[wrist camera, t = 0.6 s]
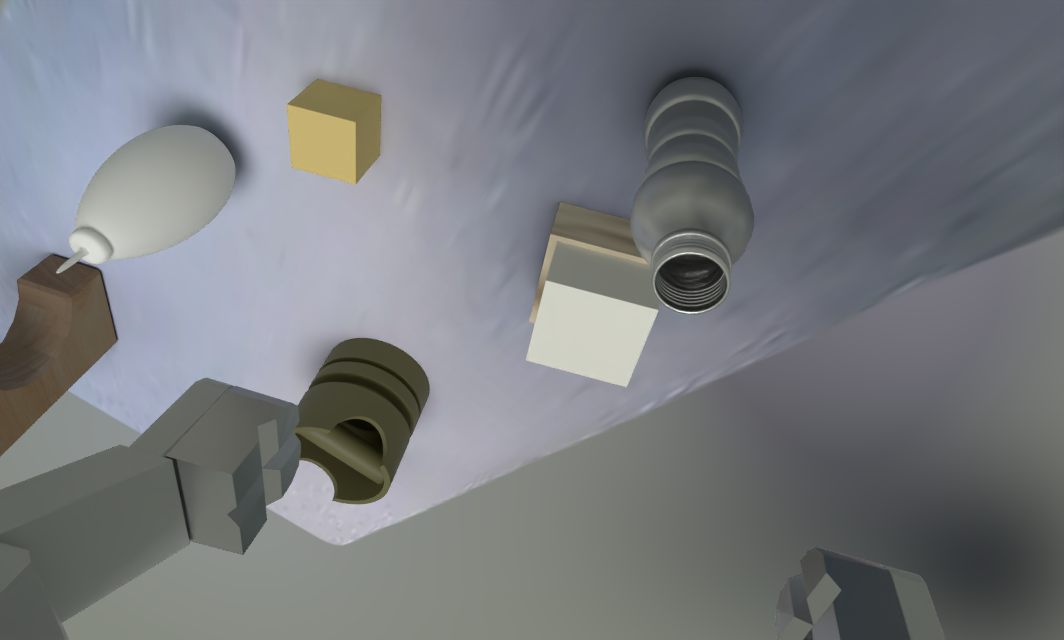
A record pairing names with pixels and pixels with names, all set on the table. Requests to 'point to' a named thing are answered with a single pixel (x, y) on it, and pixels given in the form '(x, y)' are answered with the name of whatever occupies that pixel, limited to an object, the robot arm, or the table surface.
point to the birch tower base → (587, 239)
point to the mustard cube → (334, 130)
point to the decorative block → (50, 341)
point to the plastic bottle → (692, 195)
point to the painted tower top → (593, 314)
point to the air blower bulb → (152, 195)
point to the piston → (361, 416)
